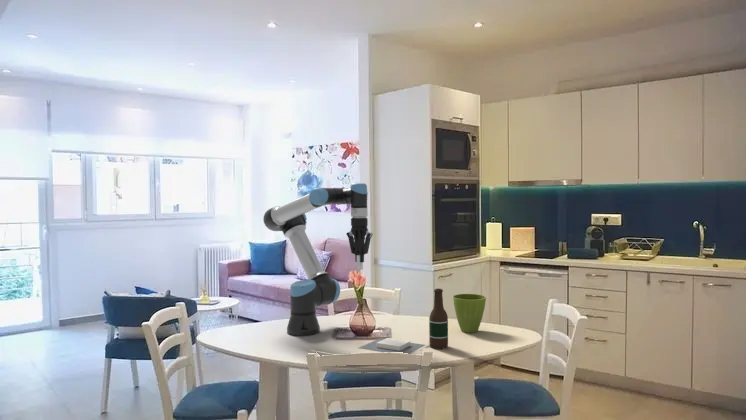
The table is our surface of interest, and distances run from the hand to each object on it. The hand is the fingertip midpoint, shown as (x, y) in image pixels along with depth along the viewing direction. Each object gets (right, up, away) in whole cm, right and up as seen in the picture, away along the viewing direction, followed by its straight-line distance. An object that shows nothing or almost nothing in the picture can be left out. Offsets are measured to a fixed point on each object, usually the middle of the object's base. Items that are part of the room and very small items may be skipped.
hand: (359, 269), depth 250 cm
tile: (+10, -28, -21) cm, 36 cm away
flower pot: (+50, -29, +4) cm, 58 cm away
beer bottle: (+33, -30, -22) cm, 50 cm away
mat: (+14, -30, -23) cm, 40 cm away
